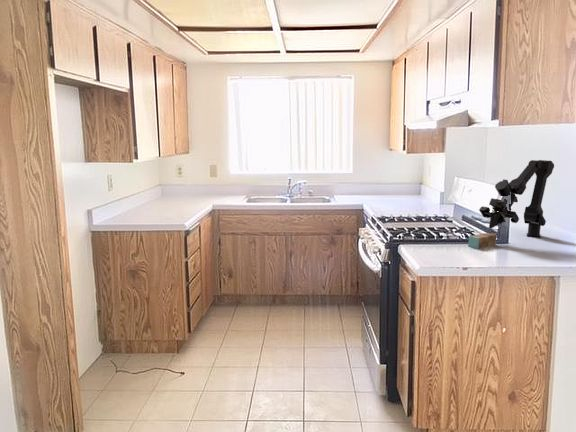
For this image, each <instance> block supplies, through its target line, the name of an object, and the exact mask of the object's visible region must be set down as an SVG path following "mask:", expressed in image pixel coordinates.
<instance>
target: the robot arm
mask: <svg viewBox="0 0 576 432" xmlns="http://www.w3.org/2000/svg"><path fill="white" fill-rule="evenodd" d="M554 168H555V164H554V162H553V161H552V160H545V159H544V160H542V159H538V160H536V159H534V160H532V159H531V160H529V161H528V164H527V166H526V167H525V168H524V169H523V170H522V171H521V172H520V174H519V176H517V177H516V178H514V179H512V180H511V181H510V182H509V180H508V179H502V180H501V181H499V182H496V184H495V185H494V188H495V190H496V191H497V193H498V195H499V196H500V197H501V196H508V195H510V192H511V204H509V210H510V211H508V210H507V207H506V204H507V200H506V199H502V198H501V199H499V198H492V197H491V198H490V201H489V203H488V204H489V206H491V207H492V209H491V208H490V207H488V206H480V207H479V209H478V210H479V212H480V214H481V215H482V217H483V218H486V219H490V220H489V225H488V228H489V229H493V228H496V227H497V226H499V225H501V224H503V223H506V222H507V221H506V220H507V219H510V222H511V223H514V224H517V223H518V222H519V220H520V217H519V216H518V214H517V212H516V211H513V210H512V206H513V205H514V203H518V202H519V201H518V196H516V195H519V196H521V195H523V194H524V192H525V191H526V189H527V184H528V182H529V181H530V180H531V178H533V176H534V175H535V176H536V177H535V183H534V187H533V191H532V196H531V201H530V204H529V205H528V206H525V209H524V213H523V221H524V224H528V227H527V233H526V237H534V238H541V237H542V236H541V226H542V227H545V225H546V222H547V220H546V219H545V217H544V210H543V208H542V203H543V198H544V195H545V194H544V193H545V189H546V185H547V179H548V178H550V176H551V175H552V173H553V170H554ZM497 211H499V212H497Z"/></svg>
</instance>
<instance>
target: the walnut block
mask: <svg viewBox="0 0 576 432" xmlns="http://www.w3.org/2000/svg"><path fill="white" fill-rule="evenodd" d="M497 236H498V235H497V234H494V233H489V232H486V233H479V234H475V235H469V236H468V245H467V246H468V247H469V248H473V249H477V250H478V249H483V248H487V247H492V246H493V247H494V246H497Z"/></svg>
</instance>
